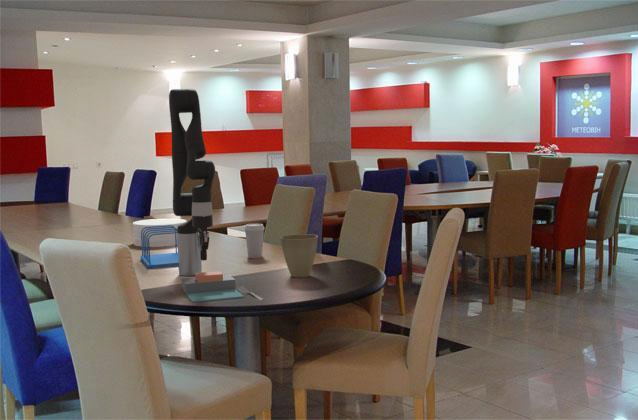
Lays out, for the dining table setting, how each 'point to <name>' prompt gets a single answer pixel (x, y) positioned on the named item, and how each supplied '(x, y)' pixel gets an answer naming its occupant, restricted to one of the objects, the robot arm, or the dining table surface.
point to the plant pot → (299, 253)
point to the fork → (249, 292)
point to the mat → (214, 295)
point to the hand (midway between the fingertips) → (203, 260)
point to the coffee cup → (254, 239)
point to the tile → (209, 276)
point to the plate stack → (155, 239)
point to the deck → (207, 285)
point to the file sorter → (158, 259)
